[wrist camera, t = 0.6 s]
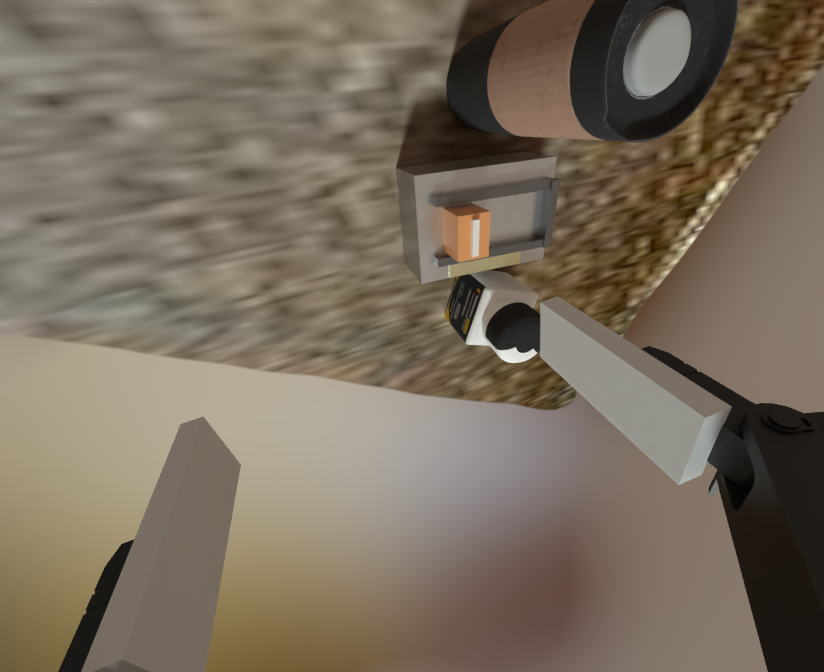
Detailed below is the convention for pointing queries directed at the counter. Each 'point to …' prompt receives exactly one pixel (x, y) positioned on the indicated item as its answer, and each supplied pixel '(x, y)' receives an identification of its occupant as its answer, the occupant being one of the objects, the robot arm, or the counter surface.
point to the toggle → (466, 232)
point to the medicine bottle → (496, 314)
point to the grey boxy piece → (488, 188)
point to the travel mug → (593, 68)
